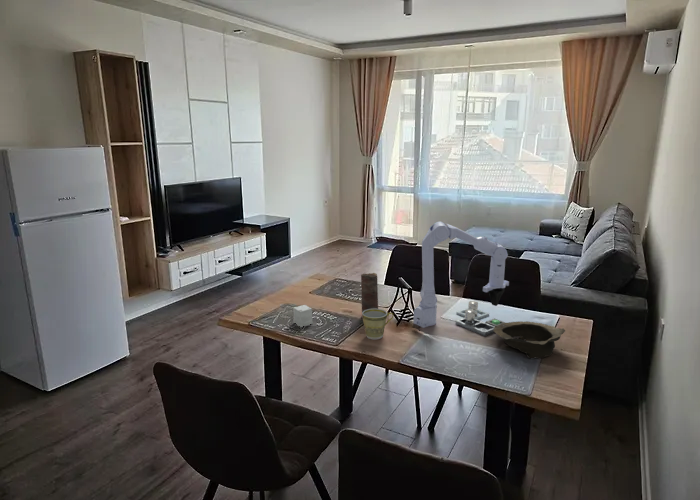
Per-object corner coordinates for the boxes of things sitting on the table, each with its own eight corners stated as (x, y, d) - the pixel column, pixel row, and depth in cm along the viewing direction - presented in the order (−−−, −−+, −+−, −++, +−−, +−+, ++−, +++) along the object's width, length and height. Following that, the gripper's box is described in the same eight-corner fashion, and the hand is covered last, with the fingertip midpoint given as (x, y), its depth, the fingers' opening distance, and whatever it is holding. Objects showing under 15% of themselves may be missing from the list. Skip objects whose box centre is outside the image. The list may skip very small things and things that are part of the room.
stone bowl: (558, 369, 156) (558, 344, 154) (485, 357, 170) (484, 333, 168) (568, 341, 177) (568, 318, 175) (502, 332, 190) (501, 311, 188)
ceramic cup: (366, 342, 178) (366, 319, 176) (359, 332, 188) (359, 309, 185) (397, 338, 182) (398, 315, 179) (388, 329, 191) (389, 306, 189)
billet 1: (473, 317, 200) (474, 305, 199) (466, 315, 203) (466, 302, 202) (479, 315, 202) (479, 303, 201) (471, 313, 206) (472, 300, 204)
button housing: (497, 330, 188) (497, 326, 188) (485, 326, 193) (485, 321, 192) (506, 327, 192) (506, 322, 191) (494, 322, 196) (494, 318, 196)
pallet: (484, 338, 181) (484, 332, 181) (455, 326, 193) (455, 320, 193) (497, 333, 186) (497, 327, 185) (468, 321, 198) (468, 316, 197)
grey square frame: (474, 322, 196) (474, 318, 196) (456, 315, 204) (456, 311, 204) (488, 317, 202) (489, 313, 201) (470, 310, 210) (471, 306, 209)
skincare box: (305, 320, 202) (304, 304, 200) (312, 324, 197) (312, 308, 195) (293, 323, 198) (292, 307, 196) (300, 327, 193) (299, 311, 191)
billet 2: (470, 327, 189) (470, 313, 188) (462, 324, 192) (463, 311, 191) (476, 325, 192) (477, 311, 190) (468, 322, 195) (469, 308, 193)
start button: (496, 328, 190) (496, 323, 190) (490, 326, 193) (490, 320, 192) (500, 326, 192) (501, 321, 191) (494, 324, 194) (495, 319, 194)
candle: (358, 318, 203) (358, 275, 198) (364, 312, 209) (364, 270, 204) (375, 320, 200) (375, 276, 195) (380, 314, 207) (380, 272, 202)
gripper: (493, 279, 180) (491, 311, 184) (516, 273, 189) (513, 304, 192) (479, 275, 186) (477, 306, 189) (501, 269, 194) (499, 299, 197)
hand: (494, 305), depth 191 cm, fingers closed
